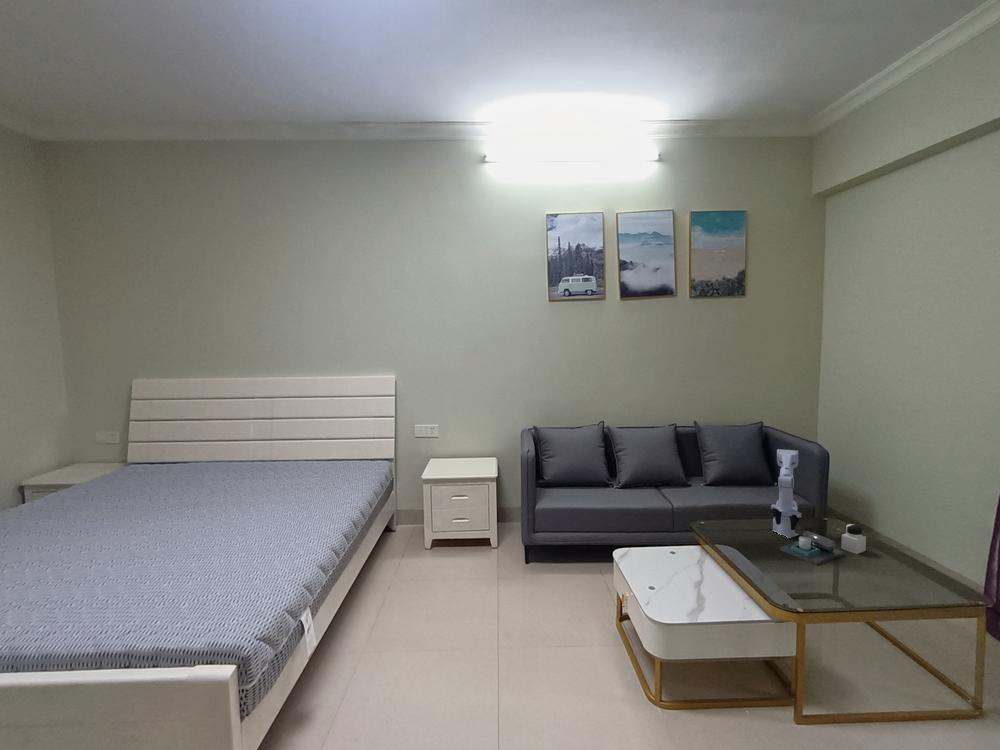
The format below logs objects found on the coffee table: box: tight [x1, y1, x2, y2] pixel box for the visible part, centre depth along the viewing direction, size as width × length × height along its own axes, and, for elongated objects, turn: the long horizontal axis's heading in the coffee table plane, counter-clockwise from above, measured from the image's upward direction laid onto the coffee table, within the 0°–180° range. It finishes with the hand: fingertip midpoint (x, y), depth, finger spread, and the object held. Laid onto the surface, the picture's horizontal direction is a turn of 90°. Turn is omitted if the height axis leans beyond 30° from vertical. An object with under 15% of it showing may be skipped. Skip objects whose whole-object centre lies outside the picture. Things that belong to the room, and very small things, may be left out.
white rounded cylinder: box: [798, 535, 811, 552], centre depth 236 cm, size 5×5×6 cm
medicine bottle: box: [841, 523, 867, 555], centre depth 238 cm, size 7×7×12 cm
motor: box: [779, 530, 845, 566], centre depth 238 cm, size 18×20×7 cm
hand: (785, 526), depth 246 cm, fingers open, 7 cm apart
